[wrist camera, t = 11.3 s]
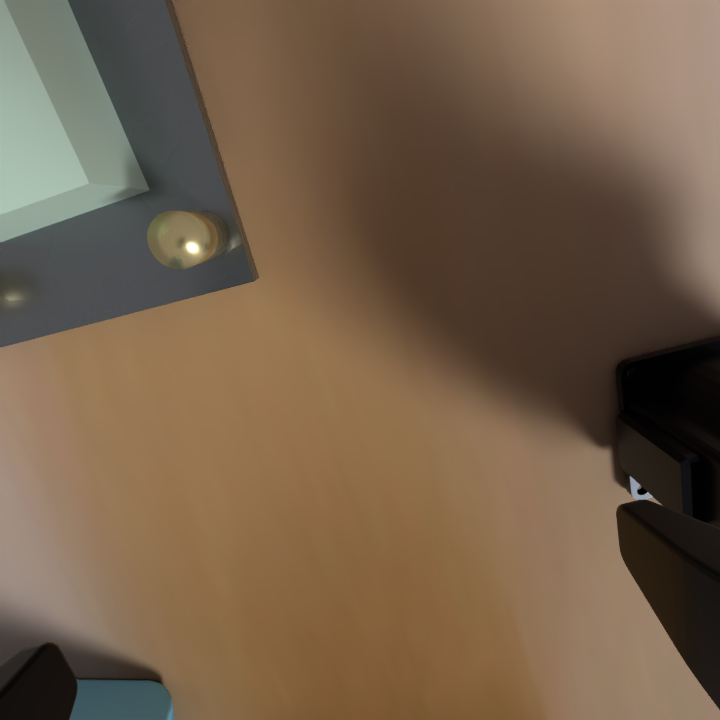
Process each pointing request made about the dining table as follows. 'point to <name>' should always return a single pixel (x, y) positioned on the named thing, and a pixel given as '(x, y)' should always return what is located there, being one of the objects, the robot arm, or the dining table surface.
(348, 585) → the dining table surface
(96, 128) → the pale green block
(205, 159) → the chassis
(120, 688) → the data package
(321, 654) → the dining table surface
